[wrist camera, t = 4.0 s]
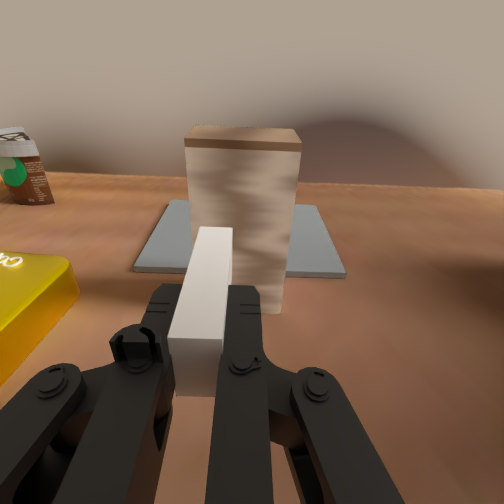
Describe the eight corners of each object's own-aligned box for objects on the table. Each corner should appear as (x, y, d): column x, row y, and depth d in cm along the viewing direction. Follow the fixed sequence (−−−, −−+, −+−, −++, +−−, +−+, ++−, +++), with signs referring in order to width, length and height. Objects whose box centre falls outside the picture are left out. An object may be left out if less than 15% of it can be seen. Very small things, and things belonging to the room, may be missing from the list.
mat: (314, 209, 50) (315, 205, 49) (344, 278, 34) (346, 272, 33) (172, 204, 49) (171, 199, 49) (134, 271, 33) (133, 266, 33)
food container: (1, 190, 51) (-26, 129, 46) (42, 183, 55) (22, 126, 49) (9, 215, 43) (-22, 145, 38) (56, 206, 47) (34, 140, 41)
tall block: (276, 281, 33) (293, 129, 24) (280, 314, 29) (302, 143, 20) (204, 279, 33) (195, 124, 24) (197, 311, 28) (184, 137, 20)
